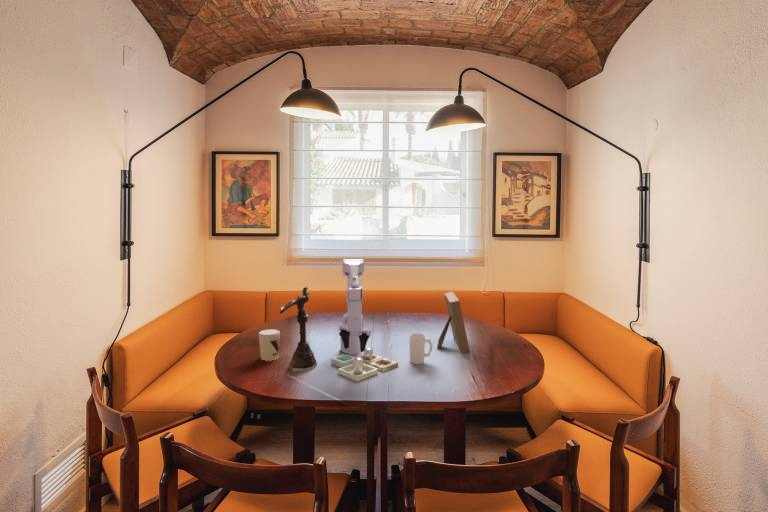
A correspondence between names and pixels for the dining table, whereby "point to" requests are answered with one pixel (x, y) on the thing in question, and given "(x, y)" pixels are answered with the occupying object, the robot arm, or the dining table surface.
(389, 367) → the cream parts tray
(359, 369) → the billet
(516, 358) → the dining table surface
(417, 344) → the mug
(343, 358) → the button
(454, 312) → the photo frame
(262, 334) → the coffee cup
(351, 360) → the button housing
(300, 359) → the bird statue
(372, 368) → the tray
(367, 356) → the billet
